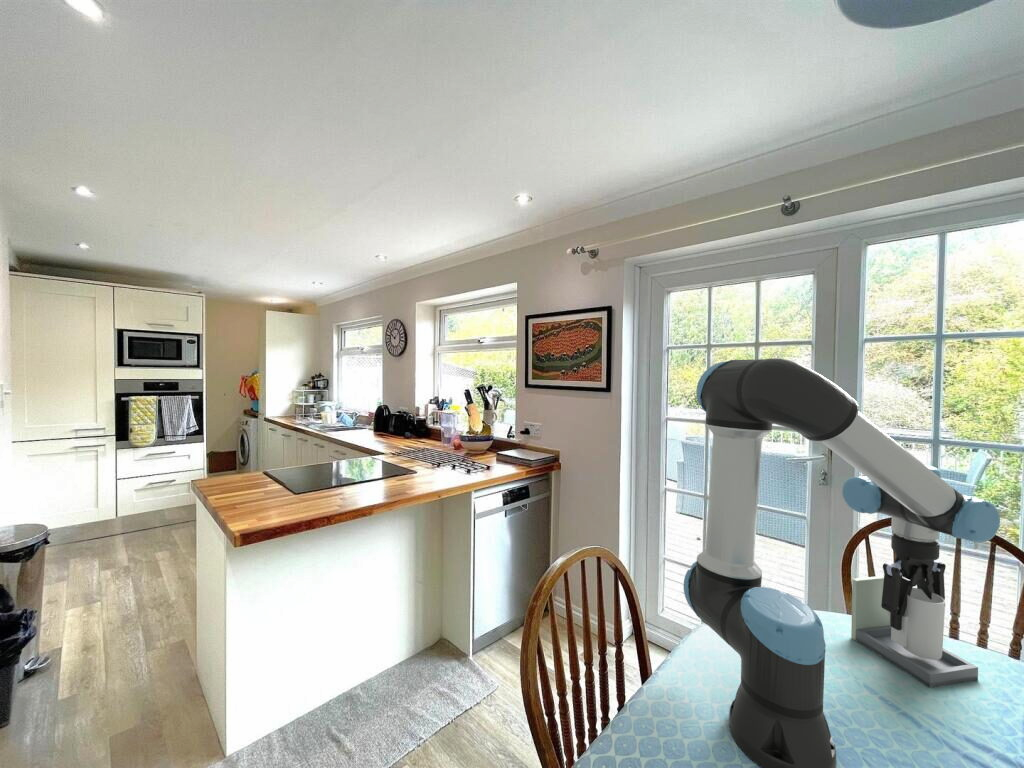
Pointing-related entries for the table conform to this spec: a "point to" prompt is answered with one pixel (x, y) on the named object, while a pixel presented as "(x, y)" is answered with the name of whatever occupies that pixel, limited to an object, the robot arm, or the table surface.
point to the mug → (925, 624)
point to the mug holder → (876, 636)
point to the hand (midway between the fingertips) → (912, 641)
